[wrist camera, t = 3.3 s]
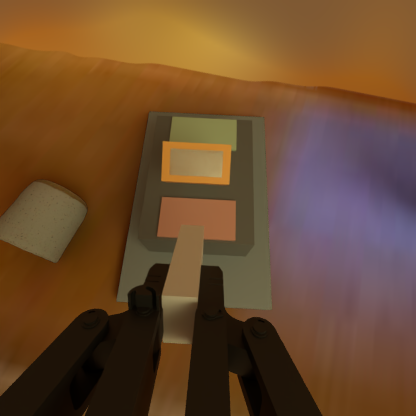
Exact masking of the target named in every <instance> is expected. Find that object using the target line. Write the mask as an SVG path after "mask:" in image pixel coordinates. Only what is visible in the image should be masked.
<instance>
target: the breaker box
mask: <svg viewBox="0 0 416 416" xmlns="http://www.w3.org/2000/svg"><path fill="white" fill-rule="evenodd" d="M163 141H167V142H187V143H206V144H226V145H231V163H230V181H229V185H209V184H190V183H170V182H163V181H161V175H162V151H163ZM181 225H197V226H204V240H203V261H202V265H208V266H219V267H220V268H221V270H222V271H223V286H224V306H225V307H226V308H244V309H262V310H272V301H271V275H270V250H269V225H268V200H267V175H266V150H265V125H264V117H248V116H228V115H208V114H189V113H169V112H149V117H148V122H147V128H146V134H145V140H144V145H143V151H142V157H141V163H140V168H139V174H138V180H137V186H136V191H135V197H134V203H133V209H132V214H131V220H130V226H129V232H128V237H127V243H126V249H125V255H124V260H123V266H122V272H121V278H120V283H119V289H118V295H117V301H118V302H128V296H127V294H128V292H129V291H130V290H131V289H132V288H134V287H136V286H139V285H143V284H144V282H145V279H146V276H147V274H148V271H149V269H150V268H151V267H152V266H153V265H154V264H155V263H161V264H170V263H171V260H172V256H173V253H174V249H175V245H176V242H177V238H178V235H179V231H180V227H181Z"/></svg>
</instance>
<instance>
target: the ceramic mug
mask: <svg viewBox="0 0 416 416" xmlns="http://www.w3.org/2000/svg"><path fill="white" fill-rule="evenodd" d="M86 213H87V205H86V203H85V202H84V201H83V200H82V199H81V198H80V197H79V196H77V195H76V194H75V193H73V192H71V191H70V190H68V189H66V188H64V187H63V186H61V185H58V184H56V183H54V182H51V181H48V180H44V179H39V180H36V181H34V182H32V183H31V184H30V185H29V186H28V187H27V188H26V189H25V190H24V191H23V192H22V193H21V194H20V195H19V197H18V198H17V199H16V200H15V202H14V203H13V204H12V205H11V206H10V207H9V208H8V209H7V211H6V212H5V213H4V214H3V215H2V216H1V217H0V239H1V240H3V241H5V242H8V243H10V244H12V245H14V246H17V247H19V248H21V249H23V250H26V251H28V252H31V253H33V254H35V255H38V256H40V257H43V258H45V259H47V260H49V261H52V262H54V263H57V262H58V260H59V259H60V257H61V256H62V254H63V252H64V251H65V249H66V247H67V245H68V244H69V242H70V241H71V239H72V238H73V236H74V234H75V232H76V231H77V229H78V228H79V226H80V225H81V223H82V221H83V220H84V218H85V215H86Z"/></svg>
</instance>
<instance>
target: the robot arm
mask: <svg viewBox="0 0 416 416" xmlns="http://www.w3.org/2000/svg"><path fill="white" fill-rule="evenodd" d="M203 240H204V226H197V225H181V227H180V231H179V235H178V238H177V242H176V245H175V249H174V253H173V256H172V260H171V263H170V264H161V263H155V264H154V265H153V266H152V267H151V268H150V269H149V271H148V274H147V276H146V279H145V282H144V284H143V285H139V286H136V287H134V288H132V289H131V290H130V291H129V292H128V294H127V296H128V307H129V310H128V311H125V312H123V313H120V314H115V315H110V316H108V314H107V313H106V311H104V310H102V309H91V310H87V311H85V312H83V313H81V314H80V315H79V316H78V317H77V318H76V319H75V320H74V321H73V322H72V323H71V324H70V325H69V326H68V327H67V328H66V329H65V330H64V331H63V332H62V333H61V334H60V335H59V336H58V337H57V338H56V339H55V340H54V341H53V342H52V343H51V345H50V346H49V347H48V348H47V349H46V350H45V351H44V352H43V353H42V354H41V355H40V356H39V357H38V358H37V359H36V360H35V361H34V362H33V363H32V364H31V365H30V366H29V367H28V368H27V369H26V370H25V371H24V372H23V374H22V375H21V376H20V377H19V378H18V379H17V380H16V381H15V382H14V383H13V384H12V385H11V386H10V387H9V388H8V389H7V390H6V391H5V392H4V393H3V394H2V395H1V396H0V416H82V415H83V414H84V412H85V410H86V409H87V407H88V406H89V407H88V409H87V412H86V414H85V416H148V412H149V407H150V403H151V398H152V393H153V389H154V384H155V379H156V375H157V370H158V365H159V361H160V356H161V342H162V338H163V342H165V343H182V344H192V350H191V360H190V370H189V380H188V390H187V400H186V410H185V416H231V415H230V392H229V371H230V372H233V373H235V374H237V376H238V379H239V383H240V386H241V389H242V392H243V395H244V398H245V402H246V405H247V408H248V411H249V414H250V416H322V414H321V412H320V410H319V409H318V407H317V405H316V403H315V401H314V399H313V398H312V396H311V394H310V392H309V390H308V388H307V387H306V385H305V383H304V381H303V379H302V377H301V375H300V374H299V372H298V370H297V368H296V366H295V364H294V363H293V361H292V359H291V357H290V355H289V353H288V352H287V350H286V348H285V346H284V344H283V342H282V341H281V339H280V337H279V335H278V333H277V331H276V329H275V328H274V326H273V325H272V324H271V323H270V322H269V321H267V320H266V319H263V318H260V317H252V318H249V319H247V320H246V321H245V322H242V321H239V320H237V319H235V318H233V317H231V316H230V315H229V314H228V313H227V312H226V310H225V306H224V286H223V271H222V270H221V268H220V267H219V266H208V265H202V261H203Z"/></svg>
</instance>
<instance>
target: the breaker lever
mask: <svg viewBox="0 0 416 416" xmlns="http://www.w3.org/2000/svg"><path fill="white" fill-rule="evenodd" d="M230 163H231V145H226V144H206V143H187V142H167V141H163V151H162V175H161V181H163V182H170V183H190V184H209V185H229V181H230Z"/></svg>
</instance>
